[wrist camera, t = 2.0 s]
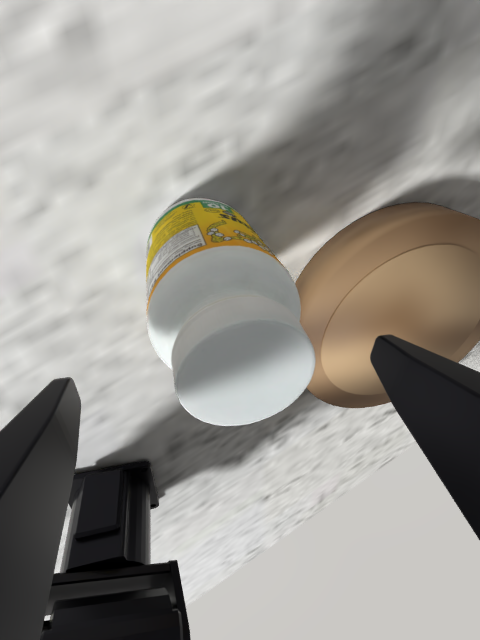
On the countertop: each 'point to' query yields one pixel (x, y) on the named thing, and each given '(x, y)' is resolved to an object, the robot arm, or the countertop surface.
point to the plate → (390, 295)
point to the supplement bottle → (224, 315)
